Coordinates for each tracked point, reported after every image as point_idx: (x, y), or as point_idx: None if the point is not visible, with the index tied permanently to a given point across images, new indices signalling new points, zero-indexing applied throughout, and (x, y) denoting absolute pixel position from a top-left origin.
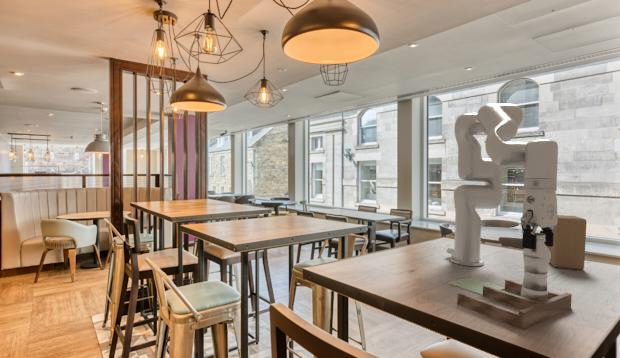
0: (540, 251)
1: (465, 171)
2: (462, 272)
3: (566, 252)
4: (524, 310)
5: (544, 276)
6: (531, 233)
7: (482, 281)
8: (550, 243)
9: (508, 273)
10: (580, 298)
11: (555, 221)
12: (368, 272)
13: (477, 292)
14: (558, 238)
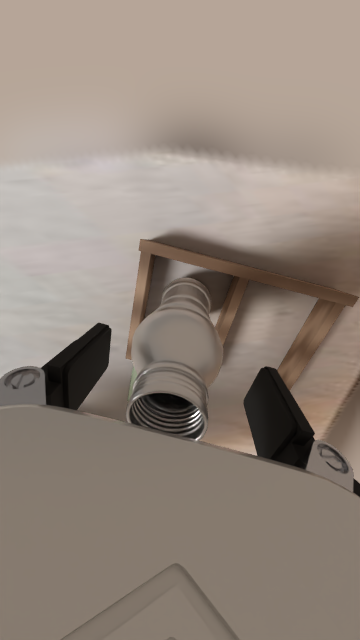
0: (217, 346)
1: None
2: (107, 413)
3: None
4: (342, 299)
5: (197, 299)
6: (336, 459)
7: (132, 383)
8: (104, 336)
9: (34, 362)
10: (63, 232)
11: (8, 459)
12: None
13: None
14: None
